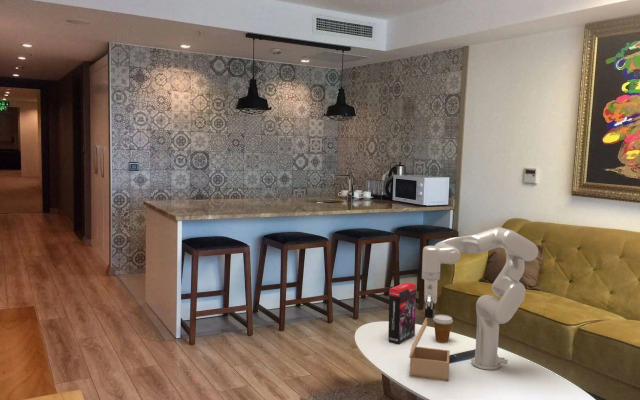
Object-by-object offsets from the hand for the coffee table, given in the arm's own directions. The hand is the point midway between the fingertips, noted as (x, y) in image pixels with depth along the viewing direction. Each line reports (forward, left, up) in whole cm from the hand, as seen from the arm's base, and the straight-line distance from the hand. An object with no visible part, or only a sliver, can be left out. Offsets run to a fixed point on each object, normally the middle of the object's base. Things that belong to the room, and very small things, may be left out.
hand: (429, 314), depth 236 cm
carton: (-1, 0, -26) cm, 26 cm away
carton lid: (+1, 0, -8) cm, 8 cm away
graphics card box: (+15, -36, -26) cm, 47 cm away
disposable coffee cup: (-5, -40, -26) cm, 48 cm away
